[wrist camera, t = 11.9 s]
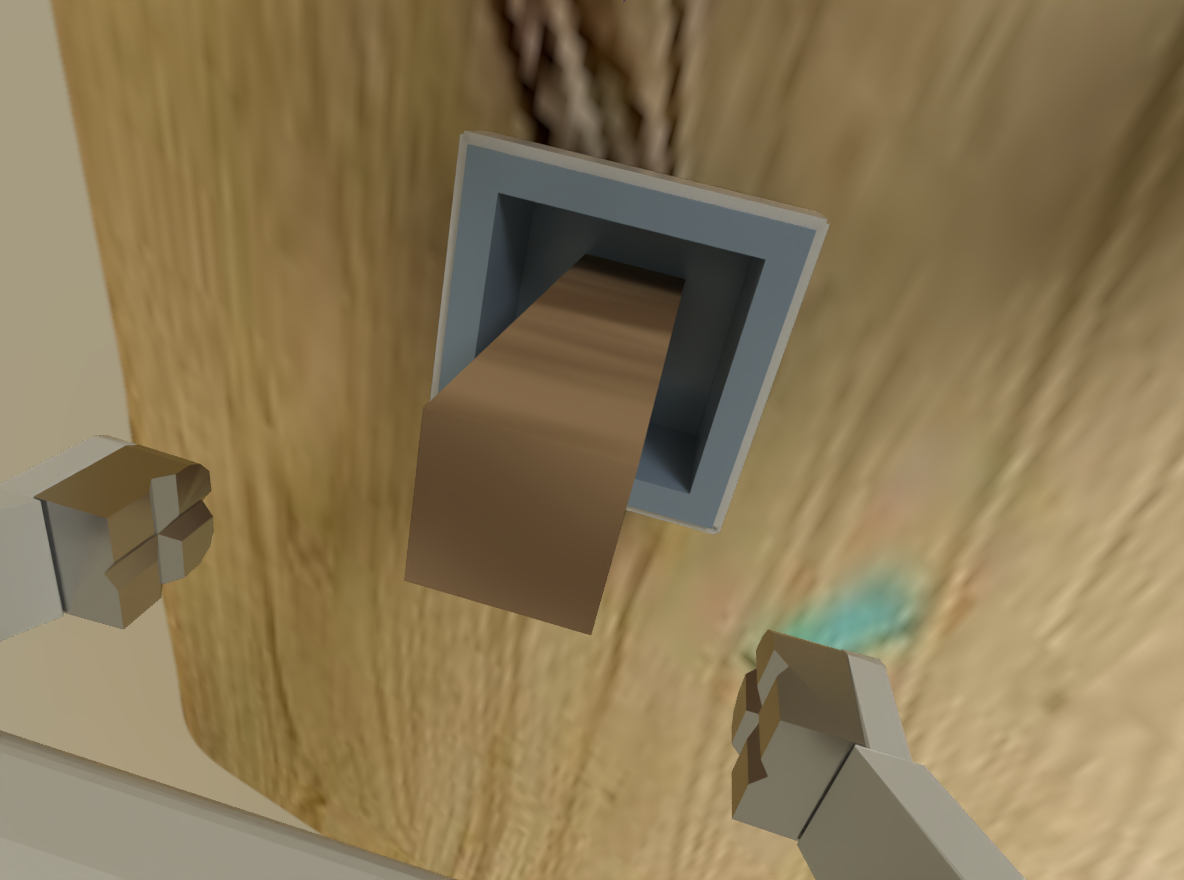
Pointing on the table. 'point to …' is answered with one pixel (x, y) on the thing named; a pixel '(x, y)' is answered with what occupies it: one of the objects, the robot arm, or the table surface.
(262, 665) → the table surface
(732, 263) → the blue square box
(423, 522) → the brown wooden block
